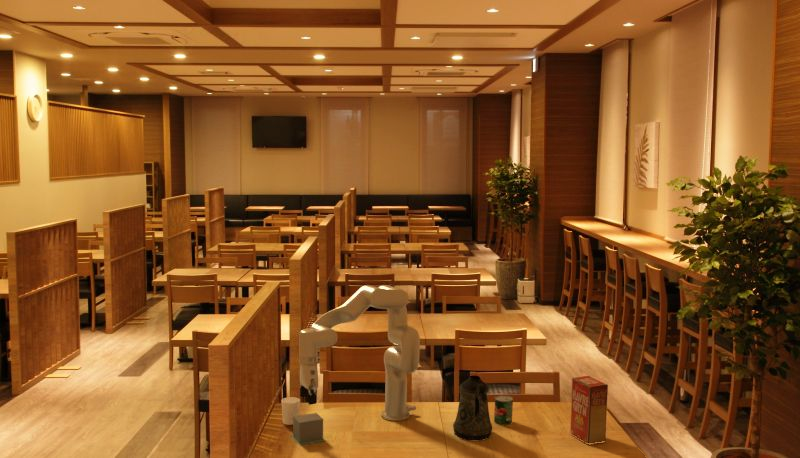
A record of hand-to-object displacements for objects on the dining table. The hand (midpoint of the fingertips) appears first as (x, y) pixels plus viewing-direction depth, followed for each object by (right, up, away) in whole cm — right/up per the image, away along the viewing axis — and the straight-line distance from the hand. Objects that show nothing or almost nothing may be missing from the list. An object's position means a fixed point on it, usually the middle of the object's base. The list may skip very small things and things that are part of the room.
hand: (308, 400), depth 322 cm
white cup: (-10, -14, +19) cm, 26 cm away
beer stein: (+69, -17, +10) cm, 72 cm away
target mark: (0, -16, +2) cm, 16 cm away
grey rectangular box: (0, -16, +2) cm, 16 cm away
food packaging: (+116, -18, +8) cm, 118 cm away
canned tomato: (+83, -15, +24) cm, 88 cm away
